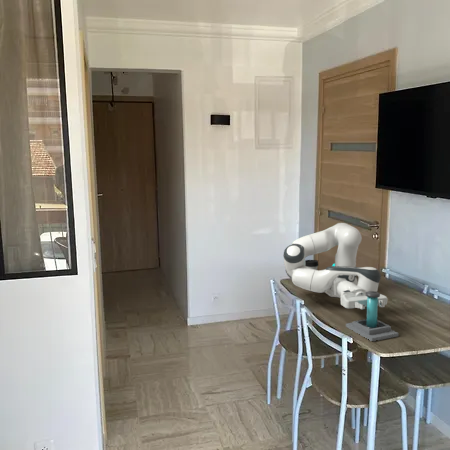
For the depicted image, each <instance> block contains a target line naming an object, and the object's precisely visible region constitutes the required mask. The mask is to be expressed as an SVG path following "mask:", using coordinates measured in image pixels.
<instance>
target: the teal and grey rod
mask: <svg viewBox="0 0 450 450" xmlns="http://www.w3.org/2000/svg"><path fill="white" fill-rule="evenodd" d="M380 294H381V293H380V292H378V291H377V292H375V291H368V292H366V296H367V307H366V319H367V323H366V324H365V327H367V328H369V329H373V328H378V327H379V326H378V325H377V320H378V311H379V310H378V297H380Z"/></svg>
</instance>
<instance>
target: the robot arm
mask: <svg viewBox="0 0 450 450" xmlns="http://www.w3.org/2000/svg"><path fill="white" fill-rule="evenodd" d="M362 237H363V236H362V234H361V232H360V230H359V229H358V228H356V227H355V226H352V225H350V224H349V223H346V222H337V223H336V224H334V225H332V226H330V227H328V228H326V229H324V230H320V231H317V232H314V233H310V234H307V235H304V236H301V237H299V238H297V239H295V240H293V241H292V242H291V244H290V245H288V246H286V247H285V249H284V250H283V265H284V268H285V273H286V275H287V277H288V278H290V280H291V282H292V283H293V285H295V286H296V287H298V288H301V289H303V290H306V291H310V292H314V293H319V294H320V293H321V294H322V293H325V294H326V295H327V296H329V297H331V298H339V299H340V305H341V306H343V307H344V308H345V309H355V308H357V309H360V310H365V309H366V308H367V296H366V292H368V291H375V292H378V289H379V284H380V282H381V279H382V275H381V272H380V271H379V269H378V268H376V267H372V266H364V267H361V266H358V267H357V254H358V250H359V246H360V244H361V242H362V241H363V240H362V239H363V238H362ZM336 246H337V250H336V253H335V255H334V263H335V266H332V265H331V266H330V265H329V266H327V267H326V268H325V269H321V270H314V269H309V268H307V267H306V266H305V260H306V258H307V257H310V256H314V255H318V254H321V253H323V252H328V251H329V250H331V249H332V248H334V247H336ZM387 304H388V297H387V296H386V295H384V294H381V293H380V297H378V306H379V307H380V308H385V306H387Z"/></svg>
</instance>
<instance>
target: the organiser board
mask: <svg viewBox="0 0 450 450" xmlns="http://www.w3.org/2000/svg"><path fill="white" fill-rule="evenodd" d="M366 323H367V318H366V319H365V318H364V319H358V320H352V322H347V323H345V328H348V329H349V330H351V331H352V330H353V331H352V332H354V333H355V334H357V333H358V335H359V334H360V335H359V336H361V337H363V338H364V337H365V339H366V338H367V339H366V340H368V339H369V340H370V342H371V341H373V342H377V341H376V340H378V341H382V340H388V339H393V338H397V337H399V332H398V331H395V330H393V329H392V325H391V326H390V325H389V324H388V323H385V322H383V321H381V320H379V319H377V325H378V326H379V327H378V328H373V329H369V328H367V327H365V324H366ZM369 340H368V341H369Z"/></svg>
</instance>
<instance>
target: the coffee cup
mask: <svg viewBox="0 0 450 450" xmlns="http://www.w3.org/2000/svg"><path fill="white" fill-rule="evenodd" d="M305 266H306V267H307V268H309V269H314V270H318V266H319V260H317V259H305Z"/></svg>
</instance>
